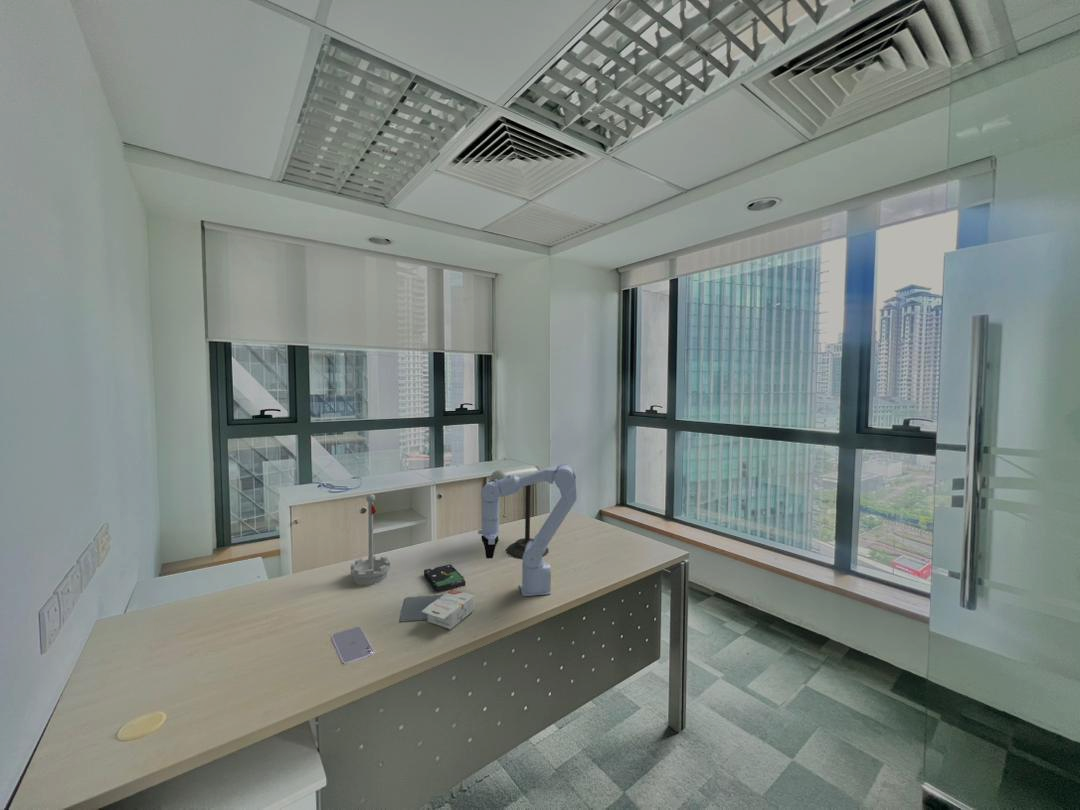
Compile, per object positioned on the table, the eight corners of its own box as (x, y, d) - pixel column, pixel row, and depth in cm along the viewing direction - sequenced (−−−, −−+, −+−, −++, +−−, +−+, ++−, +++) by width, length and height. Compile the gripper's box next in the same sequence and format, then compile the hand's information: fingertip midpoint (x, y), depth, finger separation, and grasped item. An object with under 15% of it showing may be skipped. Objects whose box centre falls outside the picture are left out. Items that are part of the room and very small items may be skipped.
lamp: (527, 533, 198) (528, 461, 196) (564, 548, 180) (566, 469, 178) (479, 547, 180) (480, 468, 178) (516, 566, 162) (517, 478, 161)
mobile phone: (360, 624, 120) (375, 651, 108) (360, 628, 120) (375, 655, 108) (330, 633, 116) (343, 663, 104) (330, 637, 116) (343, 667, 104)
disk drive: (423, 577, 153) (437, 594, 140) (423, 569, 153) (437, 586, 140) (450, 571, 158) (466, 586, 146) (450, 563, 158) (466, 578, 146)
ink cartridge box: (452, 604, 133) (419, 627, 120) (452, 588, 133) (419, 609, 120) (474, 611, 129) (443, 635, 116) (475, 595, 129) (444, 617, 116)
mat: (456, 594, 140) (456, 593, 140) (456, 617, 126) (456, 616, 126) (405, 598, 137) (405, 597, 136) (399, 622, 123) (399, 621, 123)
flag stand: (345, 576, 151) (345, 493, 150) (382, 566, 160) (382, 487, 158) (357, 590, 141) (357, 501, 140) (396, 579, 150) (396, 495, 149)
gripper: (477, 511, 150) (476, 549, 151) (479, 525, 136) (478, 567, 136) (497, 511, 151) (496, 548, 152) (501, 524, 137) (500, 566, 138)
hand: (489, 557), depth 144 cm, fingers closed
